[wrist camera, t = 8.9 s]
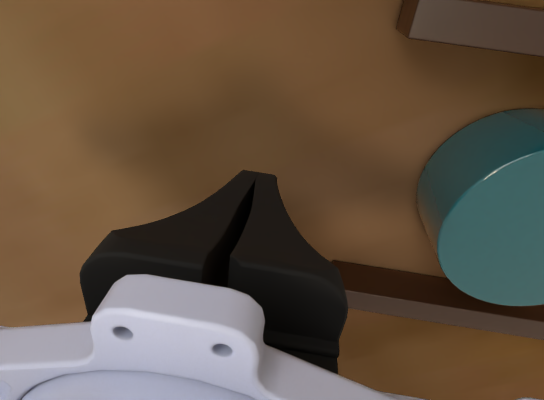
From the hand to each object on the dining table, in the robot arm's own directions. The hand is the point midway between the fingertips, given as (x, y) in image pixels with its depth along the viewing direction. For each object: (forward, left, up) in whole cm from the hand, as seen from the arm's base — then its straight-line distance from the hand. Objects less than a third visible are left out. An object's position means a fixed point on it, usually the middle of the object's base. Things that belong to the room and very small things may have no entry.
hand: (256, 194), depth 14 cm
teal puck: (+1, -10, -3) cm, 11 cm away
